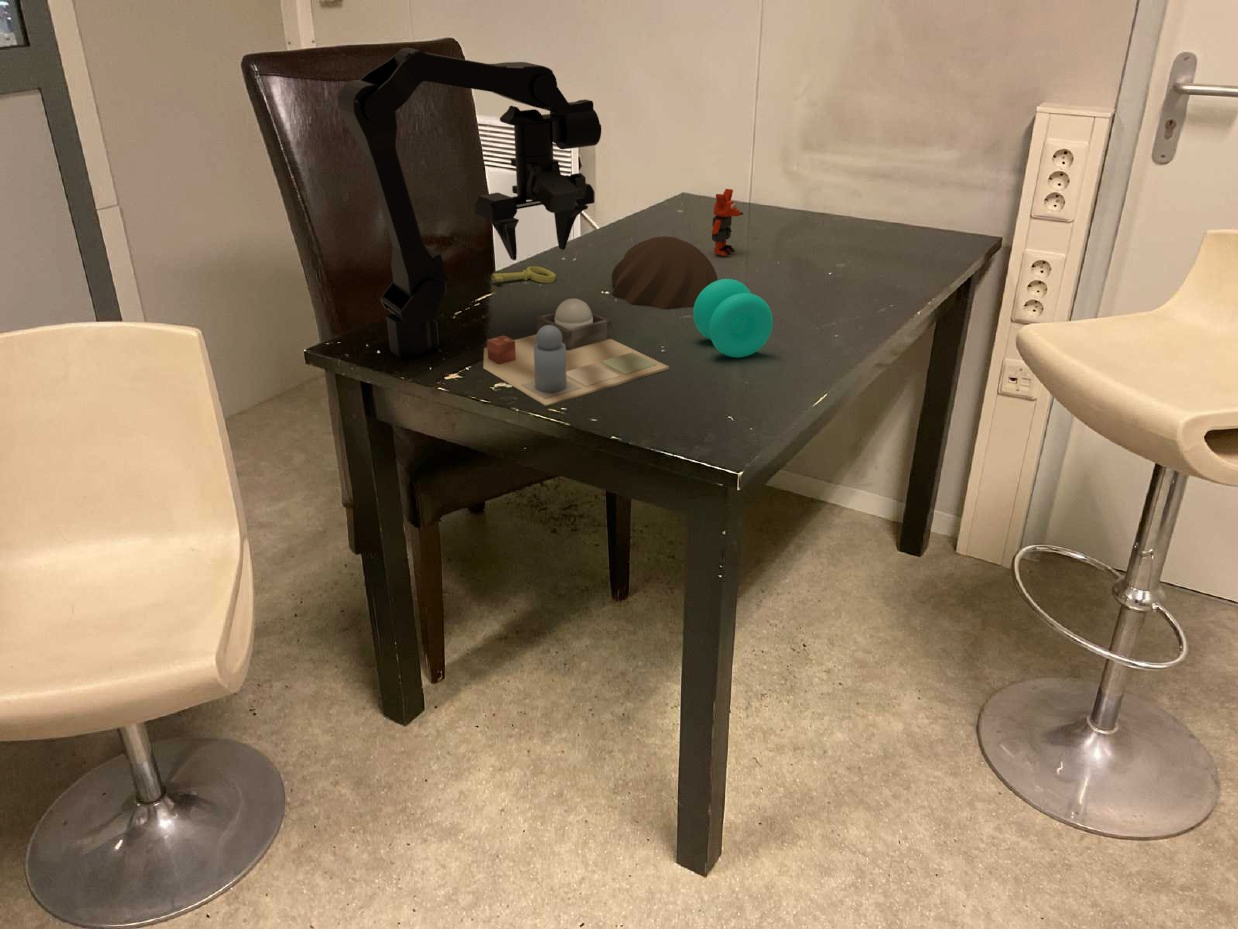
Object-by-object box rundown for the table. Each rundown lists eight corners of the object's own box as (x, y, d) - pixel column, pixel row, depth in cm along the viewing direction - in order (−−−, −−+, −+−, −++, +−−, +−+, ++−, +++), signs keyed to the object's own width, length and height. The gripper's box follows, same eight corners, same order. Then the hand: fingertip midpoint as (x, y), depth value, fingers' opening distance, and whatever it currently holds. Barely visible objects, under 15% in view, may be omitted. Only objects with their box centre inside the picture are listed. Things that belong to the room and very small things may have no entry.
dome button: (569, 344, 155) (568, 308, 152) (547, 333, 159) (546, 298, 156) (600, 336, 158) (600, 300, 155) (578, 325, 162) (577, 290, 160)
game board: (545, 407, 136) (544, 383, 135) (460, 356, 152) (458, 335, 151) (669, 368, 148) (670, 346, 147) (579, 325, 164) (578, 304, 163)
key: (488, 285, 182) (488, 274, 181) (538, 270, 190) (537, 259, 189) (515, 294, 178) (515, 282, 177) (564, 279, 186) (564, 267, 185)
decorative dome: (700, 315, 170) (702, 257, 165) (592, 300, 176) (591, 244, 171) (732, 282, 185) (735, 228, 181) (633, 269, 192) (633, 217, 187)
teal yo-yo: (712, 363, 150) (715, 299, 146) (689, 340, 159) (691, 279, 154) (773, 356, 153) (778, 293, 148) (747, 334, 161) (751, 273, 156)
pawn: (546, 395, 139) (543, 333, 135) (529, 384, 142) (526, 324, 138) (572, 387, 141) (571, 327, 137) (555, 377, 144) (553, 318, 140)
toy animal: (732, 259, 197) (736, 198, 191) (707, 256, 199) (709, 195, 193) (747, 249, 203) (750, 189, 197) (722, 245, 205) (725, 186, 200)
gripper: (510, 170, 140) (515, 278, 148) (615, 153, 150) (616, 255, 158) (469, 157, 148) (476, 260, 155) (572, 142, 158) (574, 240, 166)
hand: (538, 254), depth 158 cm, fingers open, 9 cm apart
